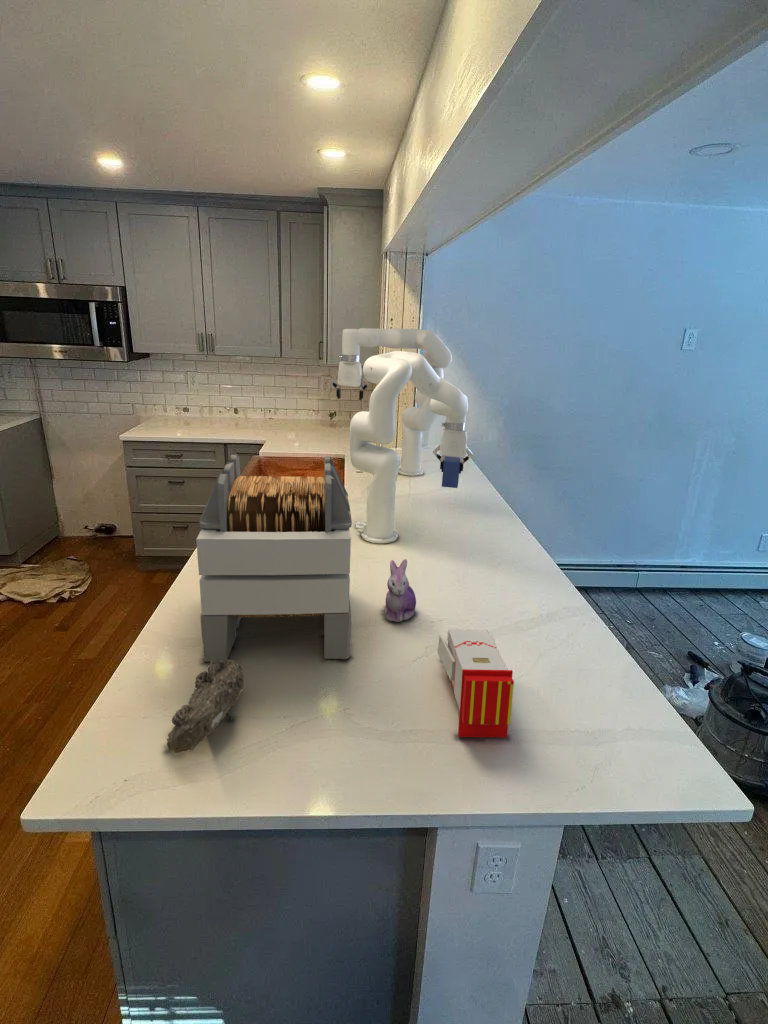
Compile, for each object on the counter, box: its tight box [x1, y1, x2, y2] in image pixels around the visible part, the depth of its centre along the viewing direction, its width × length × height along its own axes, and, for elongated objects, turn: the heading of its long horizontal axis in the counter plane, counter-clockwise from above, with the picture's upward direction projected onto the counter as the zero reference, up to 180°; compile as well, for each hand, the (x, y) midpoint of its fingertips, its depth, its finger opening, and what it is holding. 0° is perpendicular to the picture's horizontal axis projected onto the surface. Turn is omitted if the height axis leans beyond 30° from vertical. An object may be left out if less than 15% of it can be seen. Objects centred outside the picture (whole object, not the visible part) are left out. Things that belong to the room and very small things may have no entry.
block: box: [441, 456, 461, 489], centre depth 223 cm, size 6×9×10 cm
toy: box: [437, 628, 515, 738], centre depth 117 cm, size 12×13×30 cm
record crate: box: [195, 453, 353, 663], centre depth 134 cm, size 34×33×41 cm
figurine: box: [384, 558, 417, 623], centre depth 145 cm, size 9×10×15 cm
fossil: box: [166, 658, 245, 754], centre depth 106 cm, size 22×10×15 cm
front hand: (451, 471), depth 223 cm, fingers closed on block, 6 cm apart
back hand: (349, 399), depth 249 cm, fingers open, 9 cm apart
